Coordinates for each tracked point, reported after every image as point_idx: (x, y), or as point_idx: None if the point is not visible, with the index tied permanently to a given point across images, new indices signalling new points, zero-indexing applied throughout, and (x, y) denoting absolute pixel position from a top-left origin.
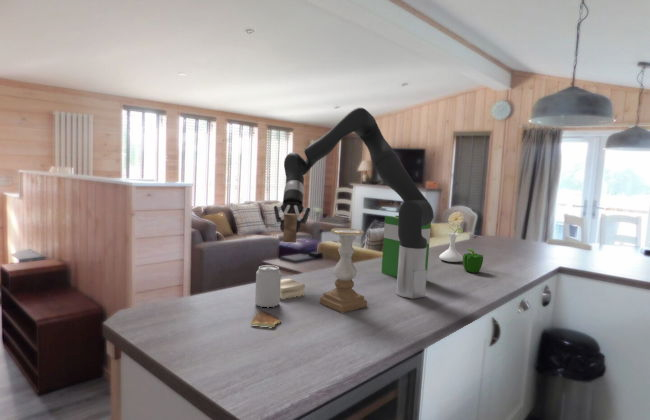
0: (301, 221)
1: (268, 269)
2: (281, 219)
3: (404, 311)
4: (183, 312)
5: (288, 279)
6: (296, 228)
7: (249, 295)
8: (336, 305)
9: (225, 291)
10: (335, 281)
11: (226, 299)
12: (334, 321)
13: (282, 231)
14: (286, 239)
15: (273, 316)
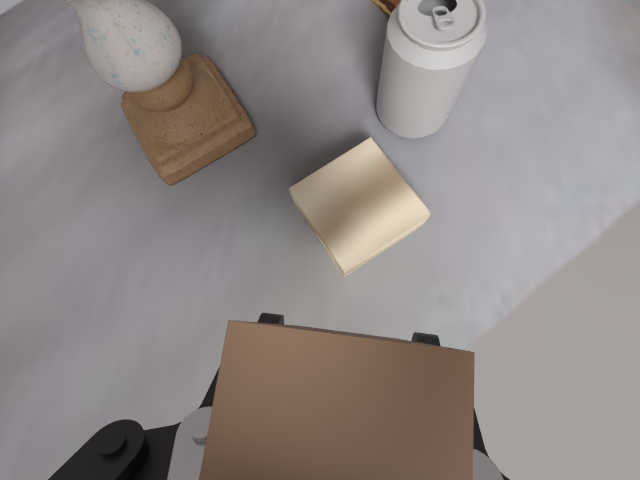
0: (180, 422)
1: (440, 8)
2: (489, 463)
3: (47, 85)
4: (634, 47)
5: (346, 253)
6: (276, 317)
7: (477, 192)
8: (218, 71)
9: (572, 231)
10: (186, 75)
11: (545, 151)
12: (244, 17)
13: None
14: (371, 335)
15: (390, 8)
